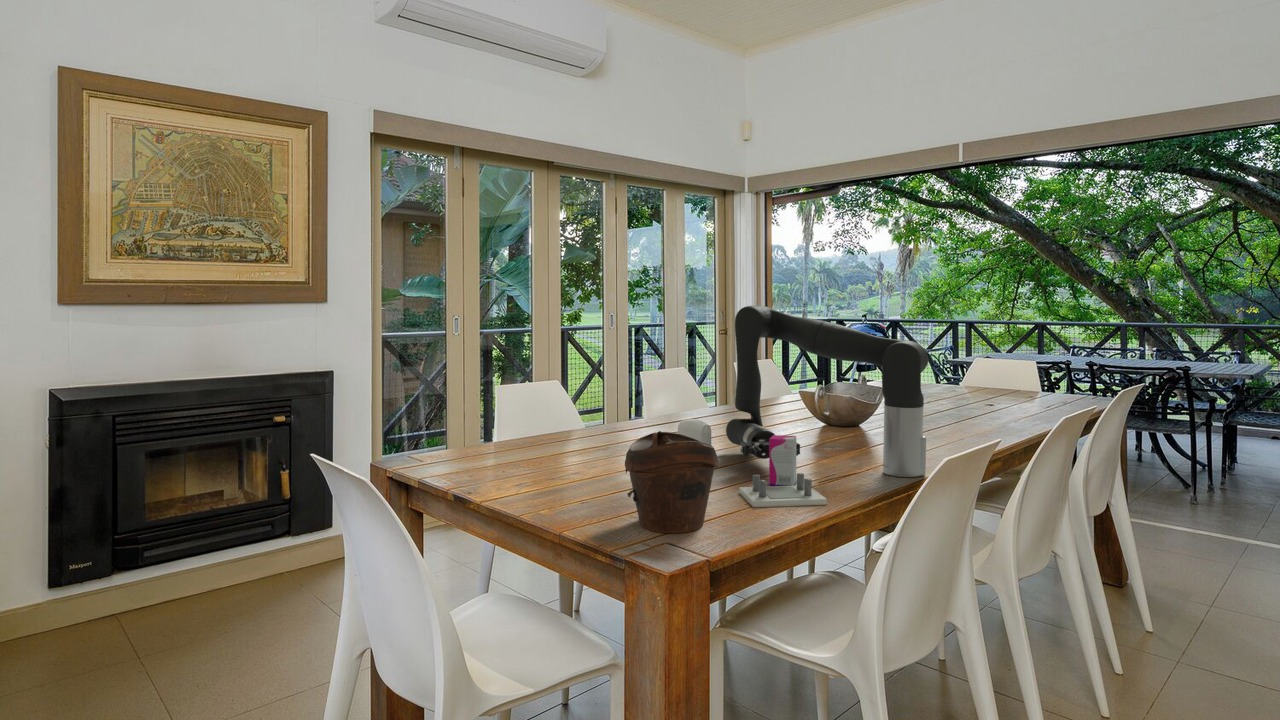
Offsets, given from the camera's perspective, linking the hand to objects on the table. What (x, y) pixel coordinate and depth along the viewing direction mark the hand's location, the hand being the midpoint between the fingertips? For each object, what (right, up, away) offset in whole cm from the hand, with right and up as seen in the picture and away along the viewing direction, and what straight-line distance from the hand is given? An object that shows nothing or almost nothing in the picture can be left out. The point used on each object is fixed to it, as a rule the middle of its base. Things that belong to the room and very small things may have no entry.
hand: (778, 453), depth 175 cm
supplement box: (0, -7, -4) cm, 8 cm away
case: (-27, -9, -34) cm, 44 cm away
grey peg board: (-2, -8, -16) cm, 18 cm away
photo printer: (-19, -6, +17) cm, 26 cm away
